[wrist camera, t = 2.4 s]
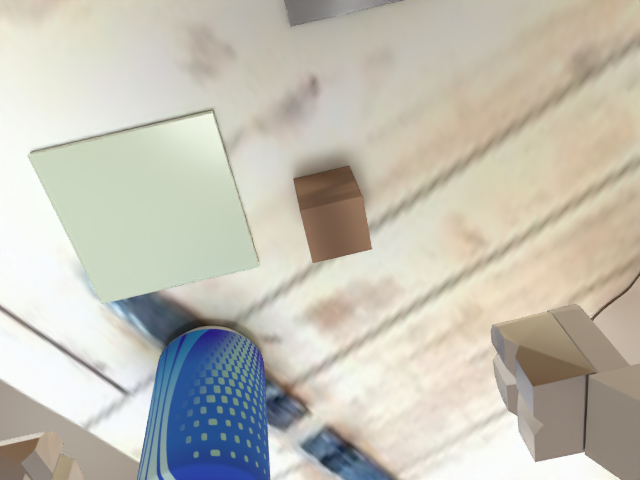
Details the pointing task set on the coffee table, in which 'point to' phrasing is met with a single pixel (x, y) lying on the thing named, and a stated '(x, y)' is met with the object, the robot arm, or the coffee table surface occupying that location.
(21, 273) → the coffee table surface
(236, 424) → the beer can
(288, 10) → the slate tile
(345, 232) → the walnut block
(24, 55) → the coffee table surface
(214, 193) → the sage tile
